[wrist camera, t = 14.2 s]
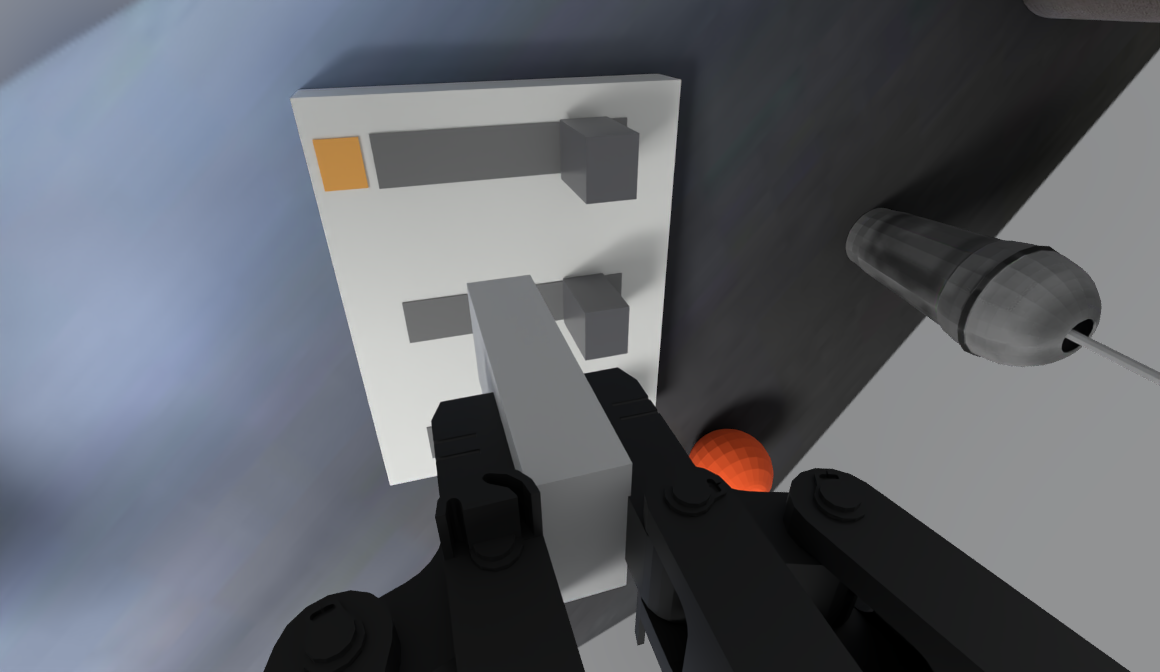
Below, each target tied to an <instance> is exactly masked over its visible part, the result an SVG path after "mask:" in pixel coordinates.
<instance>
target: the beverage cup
mask: <svg viewBox="0 0 1160 672" xmlns="http://www.w3.org/2000/svg"><path fill="white" fill-rule="evenodd" d="M846 252H847V256H848V257H849V259H850V260H851V261H853V262H854V263H856V264H857V265H858V266H859V267H861V268H862V269H863V271H865V272H866V273H867V274H869V275H870V276H872V277H873V278H874V279H876V280H877V281H879V282H880V283H881V284H883V285H884V286H886V287H887V288H888V289H890V290H891V291H893V292H894V293H895V294H897V295H898V296H900V297H901V298H902V299H904V300H905V301H907V302H908V303H909V304H911V305H912V306H913V307H915V308H916V309H918V310H919V311H920V312H922V313H923V314H925V315H926V316H928V317H929V318H930V319H932V320H933V321H934V322H936V323H937V324H939V325H940V326H941V328H942V329H943V330H944V331H945V332H946V333H947V334H948V335H949V336H950V337H951V338H952V339H953V340H954V341H956V342H957V343H959V344H960V345H961V347H962V349H963V350H964V351H966V352H968V353H970V354H973V355H976V356H979V357H983V358H985V359H987V360H990V361H992V362H996V363H998V364H1003V365H1008V366H1021V367H1024V366H1039V365H1045V364H1049V363H1053V362H1056V361H1059V360H1061V359H1063V358H1066V357H1068V356H1070V355H1071V354H1073V353H1075V352H1076V351H1078V350H1079V349H1080V348H1081V347H1082V346H1083V347H1085V348H1087V349H1089V350H1091V351H1093V352H1095V353H1097V354H1099V355H1101V356H1103V357H1105V358H1107V359H1109V360H1111V361H1113V362H1115V363H1117V364H1118V365H1120V366H1122V367H1124V368H1126V369H1128V370H1130V371H1132V372H1134V373H1136V374H1138V375H1140V376H1142V377H1144V378H1146V379H1148V380H1150V381H1152V382H1154V383H1156V384H1158V385H1160V372H1158V371H1155V370H1154V369H1151V368H1149V367H1147V366H1145V365H1143V364H1141V363H1139V362H1137V361H1135V360H1133V359H1131V358H1129V357H1127V356H1125V355H1123V354H1121V353H1119V352H1117V351H1115V350H1113V349H1111V348H1109V347H1107V346H1105V345H1103V344H1101V343H1099V342H1097V341H1095V340H1093V339H1091V336H1092V335H1093V333H1094V332H1095V330H1096V328H1097V326H1098V324H1099V320H1100V314H1101V300H1100V297H1099V293H1098V291H1097V288H1096V286H1095V283H1094V282H1093V280H1092V279H1091V277H1090V276H1089V275H1088V274H1087V273H1086V272H1085V271H1084V270H1083V269H1082V268H1081V267H1079V266H1078V265H1077V264H1075V263H1074V262H1072V261H1071V260H1069V259H1068V258H1066V257H1065V256H1063V255H1061V254H1059V253H1058V252H1057V251H1055V250H1054V249H1052V248H1051V247H1049V246H1037V245H1033V244H1028V243H1022V242H1016V241H1005V240H1000V239H997V238H994V237H990V236H987V235H983V234H979V233H976V232H972V231H969V230H965V229H962V228H958V227H955V226H951V225H948V224H944V223H941V222H937V221H934V220H930V219H927V218H923V217H920V216H916V215H913V214H909V213H906V212H899V211H894V210H890V209H888V208H877V209H873V210H871V211H869V212H867V213H866V214H864V215H863V216H862V217H861V218H860V219H859V220H858V221H857V222H856V223H855V224H854V226H853V227H852V229H851V230H850V232H849V235H848V237H847V241H846Z"/></svg>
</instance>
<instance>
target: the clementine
mask: <svg viewBox="0 0 1160 672" xmlns="http://www.w3.org/2000/svg"><path fill="white" fill-rule="evenodd" d="M689 457H690V459H691V460H692V462H693V463H694V465H695V466H696V467H701V468H705V469H707V470H709V471H711V472H713V473H715V474H717V475H719V476H720V477H721V478H722V479H723V480H724V481H725V482H726V483H727V484H728V485H729V486H730V487H731V488H733V489H736V490H744V491H757V492H769V491H770V489H771V487H772V482H773V467H772V463H771V459H770V457H769V455H768V453H767V452H766V450H765V448H764V447H763V445H762V444H761V443H760V442H759V441H758V440H756V439H755V438H754V437H752V436H751V435H749V434H747V433H745V432H743V431H740V430H736V429H719V430H715V431H712V432H710V433H708V434H706V435H705V436H703V437H702V438H701V439H700V440H699V441H698V442H697V443H696V444H695V445H694V447H693V448H692V450H691V453H690V455H689Z"/></svg>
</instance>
